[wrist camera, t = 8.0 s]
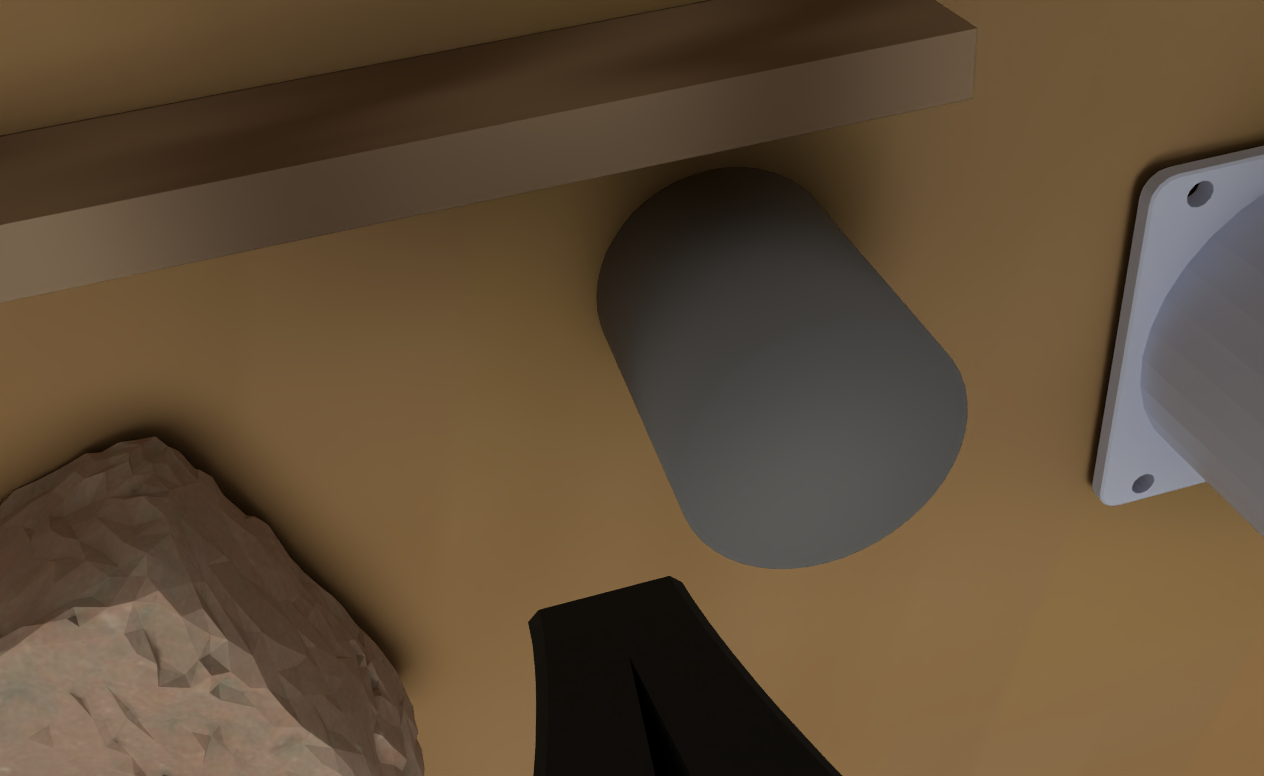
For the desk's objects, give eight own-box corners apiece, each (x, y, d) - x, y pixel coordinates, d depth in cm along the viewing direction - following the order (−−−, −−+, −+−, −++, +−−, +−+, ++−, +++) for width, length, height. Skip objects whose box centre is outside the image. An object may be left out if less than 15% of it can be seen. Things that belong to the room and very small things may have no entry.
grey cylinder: (835, 142, 20) (977, 288, 16) (836, 357, 23) (958, 527, 19) (580, 197, 19) (662, 361, 15) (611, 411, 22) (689, 599, 18)
